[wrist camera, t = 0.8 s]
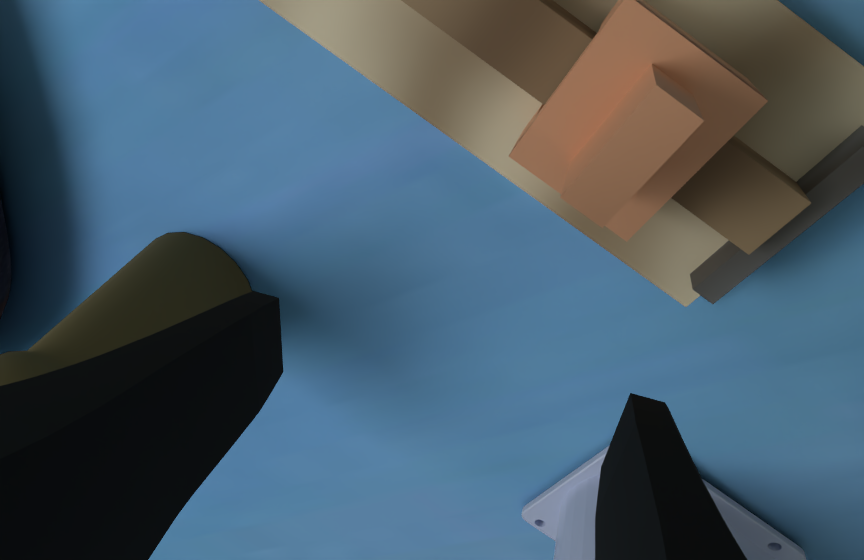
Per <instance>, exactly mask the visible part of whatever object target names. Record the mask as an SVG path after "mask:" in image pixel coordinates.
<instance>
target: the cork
mask: <svg viewBox="0 0 864 560" xmlns="http://www.w3.org/2000/svg"><path fill="white" fill-rule="evenodd" d="M249 292H252V290H251V288H250V285H249V282H248V280H247V278H246V277H245V276H244V274H243V273H242V271H241V270H240V268H239V267H238V265H237V264H236V263H235V262H234V261H233V260H232V259H231V258H230V257H229V256H228V255H227V254H226V253H225V252H224V251H223V250H222V249H221V248H219V247H217V246H216V245H214V244H212V243H211V242H209V241H207V240H206V239H204V238H202V237H199V236H195V235H192V234H188V233H185V232H176V233H166V234H164V235H162V236H160V237H158V238H156V239H155V240H154V241H152V242H151V243H150V244H149V245H148V246H147V247H146V248H144V249H143V250H142V251H141V252H140V253H139V254H137V255H136V256H135V257H134V258H133V259H132V260H131V261H129V262H128V263H127V264H126V265H125V266H124V267H123V268H121V269H120V270H119V271H118V272H117V273H116V274H115V275H113V276H112V277H111V278H110V279H109V280H108V281H107V282H105V283H104V284H103V285H102V286H101V287H100V288H99V289H97V290H96V291H95V292H94V293H93V294H92V295H90V296H89V297H88V298H87V299H86V300H85V301H84V302H82V303H81V304H80V305H79V306H78V307H77V308H76V309H74V310H73V311H72V312H71V313H70V314H69V315H68V316H66V317H65V318H64V319H63V320H62V321H61V322H60V323H58V324H57V325H56V326H55V327H54V328H53V329H51V330H50V331H49V332H48V333H47V334H46V335H45V336H43V337H42V338H41V339H40V340H39V341H38V342H37V343H35V344H34V345H33V346H32V347H31V348H30V349H29V350H27V351H9V352H6V353H3V354H0V386H2V385H6V384H10V383H14V382H17V381H21V380H25V379H28V378H32V377H35V376H39V375H42V374H45V373H48V372H51V371H54V370H58V369H61V368H64V367H67V366H70V365H73V364H76V363H79V362H82V361H85V360H88V359H91V358H93V357H96V356H99V355H102V354H104V353H107V352H109V351H112V350H114V349H117V348H119V347H122V346H124V345H127V344H129V343H132V342H134V341H137V340H139V339H142V338H144V337H147V336H149V335H152V334H154V333H157V332H159V331H161V330H164V329H166V328H168V327H171V326H173V325H175V324H177V323H180V322H182V321H184V320H187V319H189V318H191V317H193V316H196V315H198V314H200V313H202V312H205V311H207V310H209V309H211V308H214V307H216V306H218V305H220V304H223V303H225V302H227V301H230V300H232V299H234V298H237V297H239V296H241V295H244V294H247V293H249Z"/></svg>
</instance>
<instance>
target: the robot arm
mask: <svg viewBox="0 0 864 560" xmlns="http://www.w3.org/2000/svg"><path fill="white" fill-rule="evenodd" d="M282 373H283V359H282V342H281V325H280V308H279V298H277V297H273V296H270V295H266V294H262V293H258V292H255V291H252V292H249V293H247V294H244V295H241V296H239V297H237V298H234V299H232V300H230V301H227V302H225V303H223V304H220V305H218V306H216V307H214V308H211V309H209V310H207V311H205V312H202V313H200V314H198V315H196V316H193V317H191V318H189V319H187V320H184V321H182V322H180V323H177V324H175V325H173V326H171V327H168V328H166V329H164V330H161V331H159V332H157V333H154V334H152V335H149V336H147V337H144V338H142V339H139V340H137V341H134V342H132V343H129V344H127V345H124V346H122V347H119V348H117V349H114V350H112V351H109V352H107V353H104V354H102V355H99V356H96V357H93V358H91V359H88V360H85V361H82V362H79V363H76V364H73V365H70V366H67V367H64V368H61V369H58V370H54V371H51V372H48V373H45V374H42V375H39V376H35V377H32V378H28V379H25V380H21V381H17V382H14V383H10V384H6V385H2V386H0V560H148V559H149V558H150V556H151V555H152V553H153V551H154V550H155V548H156V547H157V545H158V544H159V542H160V541H161V539H162V538H163V536H164V535H165V533H166V532H167V530H168V529H169V527H170V526H171V524H172V523H173V521H174V520H175V518H176V517H177V515H178V514H179V512H180V511H181V510H182V508H183V507H184V506H185V504H186V503H187V502H188V500H189V499H190V498H191V496H192V495H193V494H194V493H195V491H196V490H197V489H198V488H199V486H200V485H201V484H202V483H203V481H204V480H205V479H206V478H207V476H208V475H209V474H210V473H211V472H212V470H213V469H214V468H215V467H216V465H217V464H218V463H219V462H220V460H221V459H222V458H223V457H224V455H225V454H226V453H227V452H228V451H229V449H230V448H231V447H232V446H233V444H234V443H235V442H236V441H237V439H238V438H239V437H240V436H241V434H242V433H243V432H244V430H245V429H246V428H247V427H248V425H249V424H250V423H251V422H252V420H253V419H254V418H255V416H256V415H257V414H258V413H259V411H260V410H261V408H262V407H263V405H264V403H265V402H266V400H267V399H268V397H269V395H270V394H271V392H272V390H273V389H274V387H275V385H276V383H277V382H278V380H279V378H280V377H281V375H282ZM522 517H523V519H524V520H525V521H526V522H528V523H529V524H531V525H532V526H534V527H535V528H537V529H538V530H540V531H541V532H543V533H544V534H546V535H547V536H549V537H550V538H552V539H553V540H554V541H556V544H555V552H554V560H806V556H805V553H804V550H803V549H802V548H801V547H799V546H798V545H796V544H795V543H794V542H792V541H791V540H789V539H788V538H786V537H785V536H784V535H782V534H781V533H779V532H778V531H776V530H775V529H774V528H772V527H771V526H769V525H768V524H766V523H765V522H764V521H762V520H761V519H759V518H758V517H756V516H755V515H754V514H752V513H751V512H749V511H748V510H746V509H745V508H743V507H742V506H741V505H739V504H738V503H736V502H735V501H733V500H732V499H731V498H729V497H728V496H726V495H725V494H723V493H722V492H721V491H719V490H718V489H716V488H715V487H713V486H712V485H711V484H709V483H708V482H706V481H705V480H703V479H702V478H701V476H700V474H699V472H698V470H697V468H696V466H695V464H694V462H693V460H692V458H691V456H690V454H689V452H688V450H687V448H686V445H685V443H684V441H683V439H682V437H681V435H680V433H679V430H678V428H677V426H676V424H675V422H674V419H673V417H672V415H671V413H670V411H669V409H668V407H667V405H666V404H665V402H661V401H657V400H654V399H650V398H646V397H643V396H639V395H635V394H632V393H630V396H629V398H628V401H627V403H626V406H625V408H624V411H623V413H622V416H621V418H620V421H619V423H618V426H617V428H616V431H615V433H614V436H613V438H612V441H611V443H610V445H609V446H608V447H607V448H605V449H604V450H602V451H601V452H600V453H598V454H597V455H595V456H594V457H593V458H591V459H590V460H588V461H587V462H586V463H584V464H583V465H581V466H580V467H578V468H577V469H576V470H574V471H573V472H571V473H570V474H569V475H567V476H566V477H564V478H563V479H562V480H560V481H559V482H557V483H556V484H555V485H553V486H552V487H550V488H549V489H548V490H546V491H545V492H543V493H542V494H541V495H539V496H538V497H536V498H535V499H534V500H532V501H531V502H529V503H528V504H527V505H525V506H524V507H523V510H522Z"/></svg>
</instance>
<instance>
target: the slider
mask: <svg viewBox="0 0 864 560" xmlns="http://www.w3.org/2000/svg"><path fill="white" fill-rule="evenodd" d="M767 102H768V100H767V99H766V98H765V97H764V96H763V95H762V94H761V92H760V91H759V90H758V89H757V88H756V87H755V86H754V85H753V84H752V83H751V82H750V81H749V79H748V78H746V77H745V76H744V75H742V74H741V73H740V72H738V71H737V70H736V69H734V68H733V67H732V66H730V65H729V64H728V63H726V62H725V61H724V60H722V59H721V58H720V57H718V56H717V55H716V54H714V53H713V52H712V51H711V50H709V49H708V48H707V47H705V46H704V45H703V44H701V43H700V42H699V41H697V40H696V39H695V38H693V37H692V36H691V35H689V34H688V33H687V32H685V31H684V30H683V29H681V28H680V27H679V26H677V25H676V24H675V23H673V22H672V21H671V20H669V19H668V18H667V17H665V16H664V15H663V14H662V13H660V12H659V11H658V10H656V9H655V8H654V7H652V6H651V5H650V4H648V3H647V2H646V1H644V0H618V1H617V3H616V4H615V5H614V7H613V8H612V9H611V11H610V12H609V13H608V15H607V16H606V18H605V19H604V20H603V22H602V23H601V26H600V29H599V31H598V33H597V34H596V35H595V37H594V38H593V39H592V41H591V42H590V43H589V45H588V46H587V48H586V49H585V50H584V52H583V53H582V54H581V56H580V57H579V58H578V60H577V61H576V63H575V64H574V65H573V67H572V68H571V69H570V71H569V72H568V73H567V75H566V76H565V77H564V79H563V80H562V82H561V83H560V84H559V86H558V87H557V88H556V90H555V91H554V92H553V94H552V95H551V97H550V98H549V99H548V101H547V102H546V103H545V105H543V104H542V105H541V106H540V108H539V109H538V111H537V112H536V113H535V115H534V116H533V117H532V119H531V120H530V121H529V123H528V124H527V126H526V127H525V128H524V130H523V131H522V133H521V135H520V137H519V138H518V140H517V142H516V144H515V146H514V147H513V149H512V151H511V153H510V154H509V157H510V158H511V159H513V160H514V161H516V162H517V163H518V164H520V165H521V166H522V167H524V168H525V169H527V170H528V171H529V172H531V173H532V174H534V175H535V176H536V177H538V178H539V179H541V180H542V181H543V182H545V183H546V184H547V185H549V186H550V187H552V188H553V189H554V190H556V191H557V192H559V193H560V194H561V196H560V198H561V199H563V200H564V201H566V202H567V203H568V204H570V205H571V206H572V207H574V208H575V209H577V210H578V211H579V212H581V213H582V214H584V215H585V216H586V217H588V218H589V219H590V220H592V221H593V222H595V223H596V224H597V225H599V226H600V227H602V228H603V227H604V226H606V227H607V228H608V229H610V230H611V231H613V232H614V233H615V234H617V235H618V236H619V237H621V238H622V239H624V240H625V241H626V242H627V241H628V240H629V239H630V238H631V237H632V236H633V235H634V234H635V233H636V232H637V231H638V230H639V229H640V228H641V227H642V226H643V225H644V224H645V223H646V222H647V221H648V220H649V219H650V218H651V217H652V216H653V215H654V214H655V213H656V212H657V211H658V210H659V209H660V208H661V207H662V206H663V205H664V204H665V203H666V202H667V201H668V200H669V199H670V198H671V197H672V196H673V195H674V194H675V193H676V192H677V191H678V190H679V189H680V188H681V187H682V186H683V185H684V184H685V183H686V182H687V181H688V180H689V179H690V178H691V177H692V176H693V175H694V174H695V173H696V172H697V171H698V170H699V169H700V168H701V167H702V166H703V165H704V164H705V163H706V162H707V161H708V160H709V159H710V158H711V157H712V156H713V155H714V154H715V153H716V152H717V151H718V150H719V149H720V148H721V147H722V146H724V145H725V144H726V143H727V142H728V141H729V140H730V139H731V138H732V137H733V136H734V135H735V134H736V133H737V132H738V131H739V130H740V129H741V128H742V127H743V126H744V125H745V124H746V123H747V122H748V121H749V120H750V119H751V118H752V117H753V116H754V115H755V114H756V113H757V112H758V111H759V110H760V109H761V108H762V107H763V106H764V105H765V104H766V103H767Z"/></svg>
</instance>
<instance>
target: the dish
mask: <svg viewBox="0 0 864 560" xmlns="http://www.w3.org/2000/svg"><path fill="white" fill-rule="evenodd" d="M10 285H11V258H10V250H9V243H8V235H7V229H6V224H5V219H4V213H3V208H2V203H1V199H0V318H1V316H2V313H3V310H4V308H5V305H6V303H7V300H8V297H9V291H10Z"/></svg>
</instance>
